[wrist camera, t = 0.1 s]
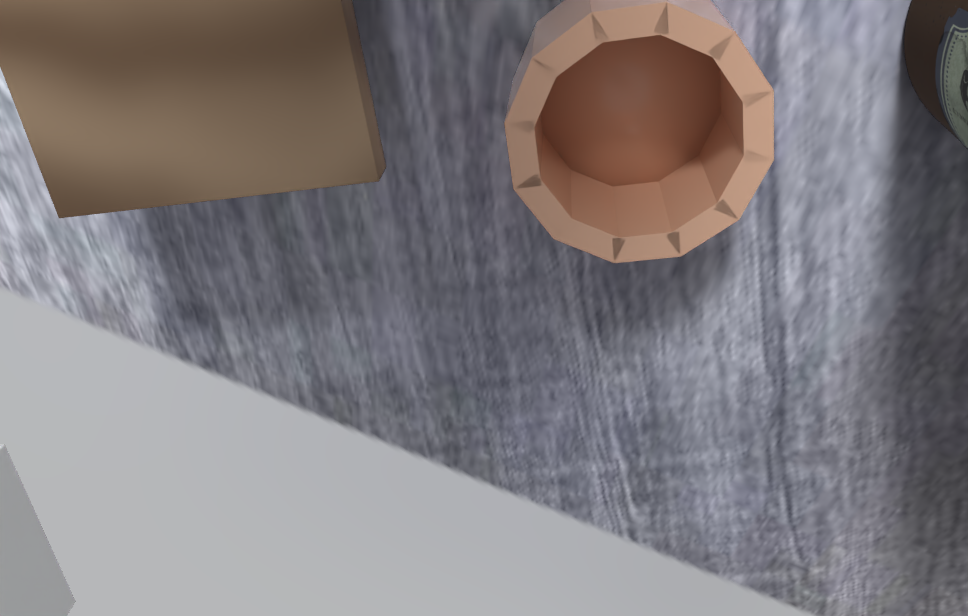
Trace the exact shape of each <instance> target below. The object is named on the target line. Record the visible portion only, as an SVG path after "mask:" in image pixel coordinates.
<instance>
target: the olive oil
mask: <svg viewBox="0 0 968 616" xmlns="http://www.w3.org/2000/svg"><path fill="white" fill-rule="evenodd" d="M904 51H905V60H906V66H907V70H908V74H909V77H910V80H911V82H912V85H913V87H914V89H915V91H916V93H917V95H918V97H919V98H920V100H921V102H922V103H923V104H924V106H925V107H926V108H927V109H928V110H929V112H930V113H931V114H932V115H933V116H934V117H935V118H936V119H937V120H938V121H939V122H940V123H941V124H942V125H943V126H944V127H946V128H947V129H948V130H949V131H950V132H951V133H952V134H953V135H954V136H955V137H956V138H957V139H958V140H960V141H961V142H962V143H963V145H964V146H965V147H966V148H967V149H968V0H912V2H911V5H910V8H909V12H908V16H907V21H906V27H905V37H904Z"/></svg>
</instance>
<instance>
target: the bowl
mask: <svg viewBox="0 0 968 616" xmlns="http://www.w3.org/2000/svg"><path fill="white" fill-rule="evenodd" d="M504 126H505V133H506V140H507V147H508V154H509V161H510V168H511V176H512V183H513V189H514V191H515V192H516V193H517V194H518V196H519V197H520V198H521V199H522V200H523V202H524V203H525V204H526V205H527V207H528V208H529V209H530V210H531V212H532V213H533V214H534V215H535V217H536V218H537V219H538V220H539V222H540V223H541V224H542V225H543V227H544V228H545V229H546V230H547V231H548V233H549V234H550V235H551V236H552V238H553V239H554V240H557V241H560V242H562V243H565V244H567V245H570V246H572V247H575V248H577V249H580V250H582V251H585V252H587V253H590V254H592V255H595V256H597V257H600V258H602V259H605V260H607V261H610V262H612V263H622V262H632V261H642V260H652V259H662V258H672V257H681V256H683V255H684V254H686V253H687V252H689V251H690V250H692V249H694V248H695V247H697V246H698V245H700V244H702V243H703V242H705V241H706V240H708V239H710V238H711V237H713V236H714V235H716V234H717V233H719V232H721V231H722V230H724V229H725V228H727V227H729V226H730V225H732V224H733V223H735V222H737V221H738V220H739V219H740V217H741V216H742V214H743V212H744V210H745V209H746V207H747V205H748V204H749V202H750V200H751V198H752V197H753V195H754V193H755V192H756V190H757V188H758V186H759V185H760V183H761V181H762V180H763V178H764V176H765V174H766V173H767V171H768V169H769V168H770V166H771V164H772V162H773V161H774V90H773V89H772V87H771V86H770V84H769V83H768V81H767V80H766V78H765V77H764V75H763V73H762V72H761V70H760V69H759V67H758V66H757V64H756V63H755V61H754V60H753V58H752V57H751V55H750V54H749V52H748V50H747V49H746V47H745V46H744V44H743V43H742V41H741V40H740V38H739V37H738V35H737V34H736V32H735V31H734V29H733V28H732V27H731V26H730V24H729V23H728V22H727V21H726V19H725V18H724V17H723V16H722V14H721V13H720V12H719V10H718V9H717V8H716V7H715V5H714V4H713V3H712V2H711V0H564V1H563V2H561V3H560V4H559V5H558V6H556V7H555V8H554V9H553V10H551V11H550V12H549V13H547V14H546V15H545V16H544V17H542V18H541V19H540V20H538V21H537V22H536V24H535V27H534V29H533V31H532V34H531V36H530V39H529V41H528V44H527V46H526V48H525V51H524V53H523V56H522V58H521V60H520V63H519V65H518V68H517V70H516V73H515V75H514V77H513V80H512V86H511V91H510V96H509V101H508V106H507V112H506V117H505V122H504Z"/></svg>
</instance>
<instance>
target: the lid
mask: <svg viewBox="0 0 968 616" xmlns="http://www.w3.org/2000/svg"><path fill="white" fill-rule="evenodd" d="M0 67H1V70H2V72H3V75H4V77H5V80H6V83H7V85H8V88H9V90H10V93H11V96H12V98H13V101H14V103H15V106H16V108H17V111H18V114H19V116H20V119H21V121H22V124H23V127H24V129H25V132H26V134H27V137H28V139H29V142H30V145H31V147H32V150H33V152H34V155H35V158H36V160H37V163H38V165H39V168H40V170H41V173H42V176H43V178H44V181H45V183H46V186H47V188H48V191H49V194H50V196H51V199H52V201H53V204H54V207H55V209H56V212H57V214H58V217H59V218H65V217H74V216H82V215H91V214H100V213H108V212H117V211H126V210H134V209H143V208H152V207H160V206H169V205H178V204H186V203H195V202H204V201H212V200H221V199H230V198H238V197H247V196H256V195H264V194H273V193H282V192H290V191H299V190H308V189H316V188H325V187H334V186H342V185H351V184H360V183H369V182H377V181H379V180H380V178H381V176H382V174H383V172H384V170H385V168H386V163H385V159H384V154H383V149H382V144H381V139H380V134H379V129H378V124H377V120H376V115H375V110H374V105H373V100H372V95H371V90H370V85H369V81H368V76H367V71H366V66H365V61H364V56H363V51H362V46H361V42H360V37H359V32H358V27H357V22H356V17H355V12H354V7H353V3H352V0H0Z"/></svg>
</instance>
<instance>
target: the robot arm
mask: <svg viewBox="0 0 968 616" xmlns="http://www.w3.org/2000/svg"><path fill="white" fill-rule="evenodd" d="M74 603H75V599H74V597H73V595H72V592H71V590H70V588H69V586H68V584H67V581H66V579H65V577H64V575H63V573H62V570H61V568H60V566H59V564H58V562H57V559H56V557H55V555H54V553H53V550H52V548H51V546H50V544H49V541H48V539H47V537H46V535H45V533H44V530H43V528H42V526H41V524H40V522H39V519H38V517H37V515H36V513H35V510H34V508H33V506H32V504H31V502H30V499H29V497H28V495H27V493H26V491H25V489H24V486H23V484H22V482H21V480H20V477H19V475H18V473H17V471H16V468H15V466H14V464H13V462H12V460H11V458H10V455H9V453H8V451H7V448H6V446H5V445H0V616H67V615H68V613H69V611H70V610H71V608H72V607H73V605H74Z"/></svg>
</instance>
